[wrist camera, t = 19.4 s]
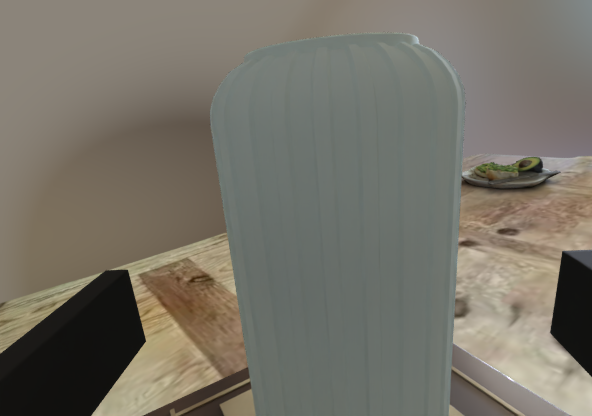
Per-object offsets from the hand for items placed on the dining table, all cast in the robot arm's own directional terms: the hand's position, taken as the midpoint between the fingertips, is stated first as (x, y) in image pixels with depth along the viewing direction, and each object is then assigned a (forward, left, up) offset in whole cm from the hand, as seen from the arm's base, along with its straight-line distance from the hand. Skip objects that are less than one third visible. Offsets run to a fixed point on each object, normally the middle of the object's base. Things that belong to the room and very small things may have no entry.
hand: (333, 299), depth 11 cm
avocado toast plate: (+75, +37, -16) cm, 85 cm away
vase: (+5, +6, -14) cm, 16 cm away
